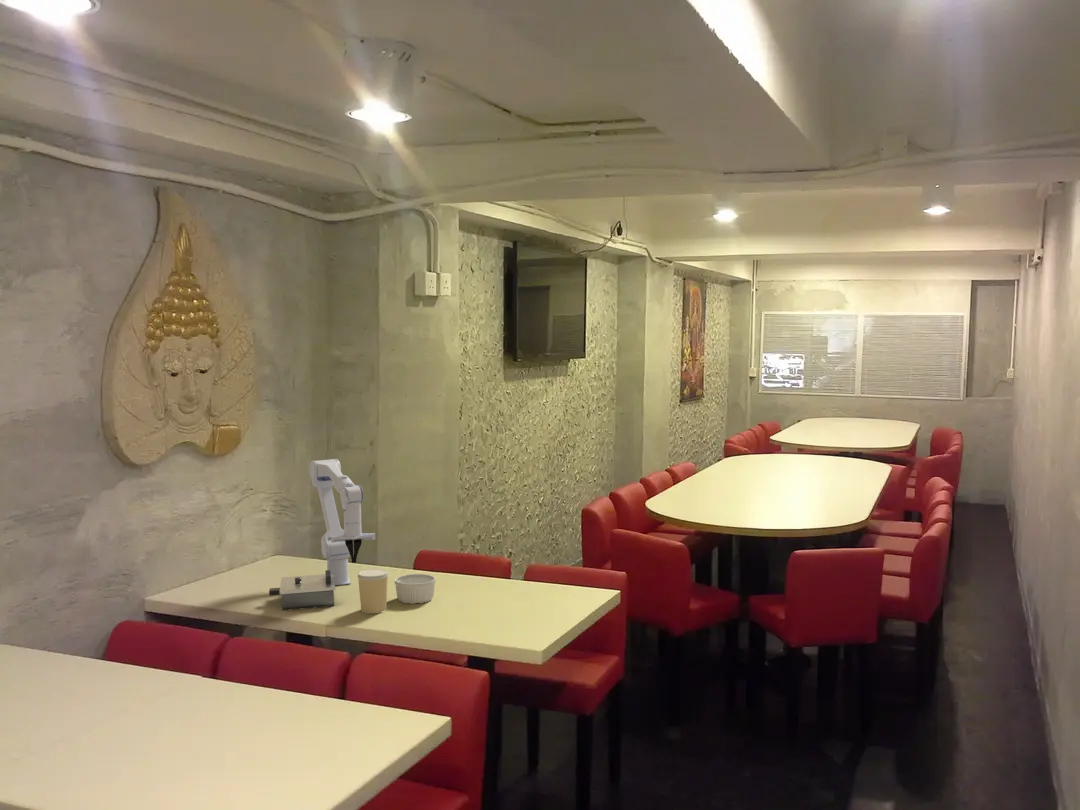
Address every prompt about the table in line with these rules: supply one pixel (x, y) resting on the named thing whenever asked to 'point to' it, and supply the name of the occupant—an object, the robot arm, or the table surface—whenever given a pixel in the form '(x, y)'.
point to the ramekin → (415, 588)
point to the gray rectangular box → (304, 599)
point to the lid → (307, 583)
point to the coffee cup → (373, 590)
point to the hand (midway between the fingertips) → (353, 562)
